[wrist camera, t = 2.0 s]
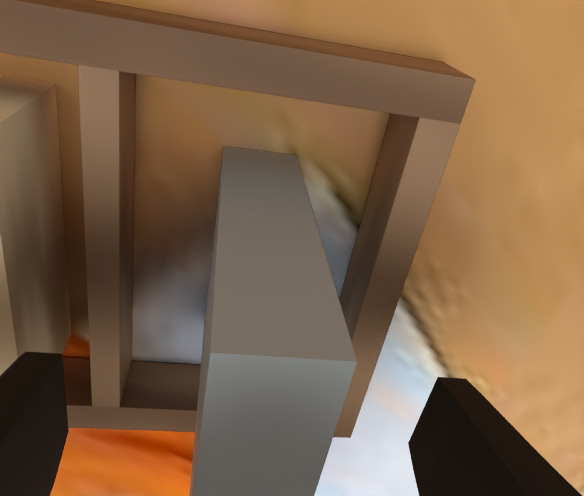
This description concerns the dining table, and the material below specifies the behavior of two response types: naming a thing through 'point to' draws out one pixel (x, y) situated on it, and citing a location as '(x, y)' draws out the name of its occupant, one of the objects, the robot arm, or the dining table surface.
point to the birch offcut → (31, 223)
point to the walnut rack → (243, 76)
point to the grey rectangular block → (268, 337)
